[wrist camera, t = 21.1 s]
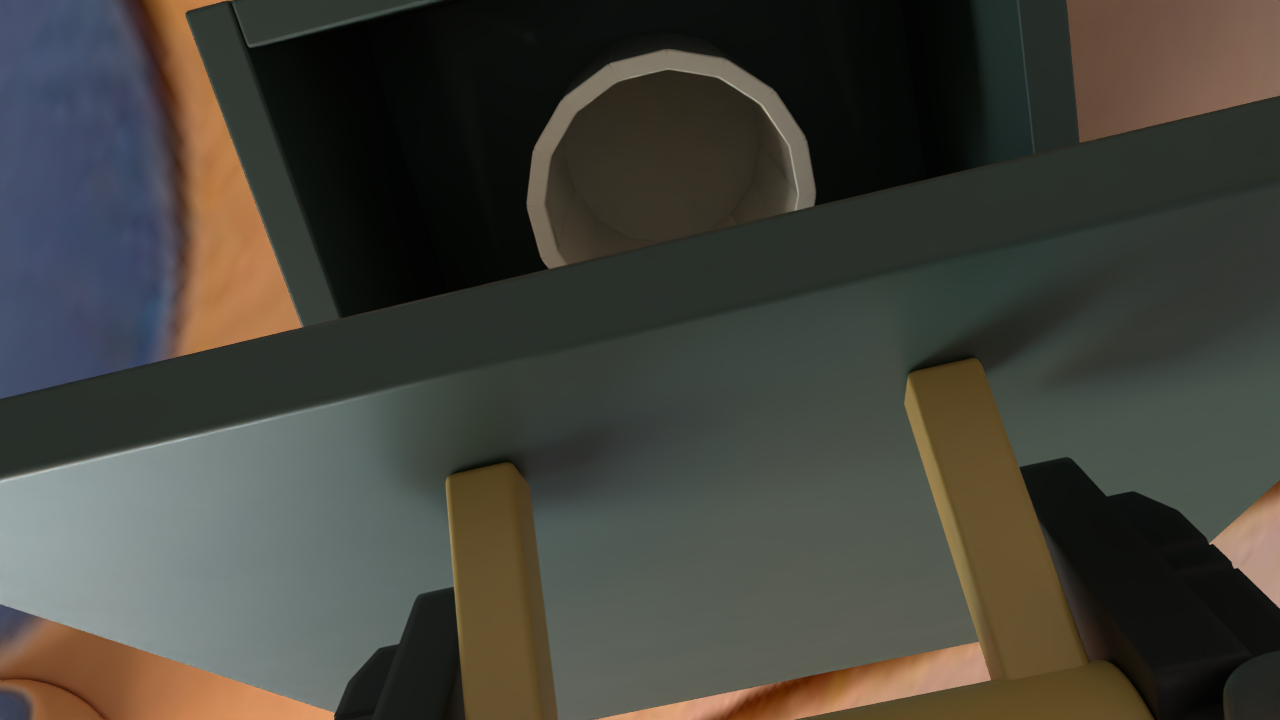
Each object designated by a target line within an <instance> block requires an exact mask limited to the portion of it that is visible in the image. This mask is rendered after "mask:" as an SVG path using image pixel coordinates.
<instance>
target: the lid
mask: <svg viewBox="0 0 1280 720" xmlns="http://www.w3.org/2000/svg"><path fill="white" fill-rule="evenodd" d="M1063 457H1069V458H1071V459H1072V460H1073V461H1075V463H1076V464H1077V465H1078V466H1079V467H1080V468H1081V469H1082V470H1083V471H1084V472H1085V473H1086V474H1087V476H1088V477H1089V478H1090V479H1091V480H1092V481H1093V482H1094V483H1095V484H1096V485H1097V486H1098V488H1099V489H1100V490H1101V491H1102V492H1103V493H1104V494H1105V495H1106V496H1111V495H1116V494H1121V493H1125V492H1130V491H1135V492H1137V493H1139V494H1142V495H1144V496H1146V497H1149V498H1151V499H1153V500H1156V501H1158V502H1160V503H1162V504H1165V505H1167V506H1169V507H1172V508H1174V509H1176V510H1178V511H1179V512H1180V513H1181V514H1183V515H1184V516H1185V517H1186V518H1187V519H1188V520H1189V521H1190V522H1191V523H1192V524H1193V525H1194V526H1195V527H1196V528H1197V529H1198V530H1199V531H1200V532H1201V533H1202V534H1203V535H1204V536H1205V537H1206V538H1207V540H1208V543H1210V542H1211V541H1212V540H1213V539H1214V538H1215V537H1216V536H1218V535H1219V534H1220V533H1221V532H1222V531H1223V530H1224V529H1225V528H1227V527H1228V526H1229V525H1230V524H1231V523H1232V522H1233V521H1234V520H1235V519H1237V518H1238V517H1239V516H1240V515H1241V514H1242V513H1243V512H1244V511H1245V510H1247V509H1248V508H1249V507H1250V506H1251V505H1252V504H1253V503H1254V502H1255V501H1257V500H1258V499H1259V498H1260V497H1261V496H1262V495H1263V494H1264V493H1265V492H1267V491H1268V490H1269V489H1270V488H1271V487H1272V486H1273V485H1274V484H1275V483H1277V482H1278V481H1279V480H1280V96H1277V97H1272V98H1268V99H1264V100H1260V101H1255V102H1251V103H1247V104H1243V105H1239V106H1234V107H1230V108H1226V109H1222V110H1218V111H1213V112H1209V113H1205V114H1201V115H1196V116H1192V117H1188V118H1184V119H1180V120H1175V121H1171V122H1167V123H1163V124H1158V125H1154V126H1150V127H1146V128H1142V129H1137V130H1133V131H1129V132H1125V133H1121V134H1116V135H1112V136H1108V137H1104V138H1099V139H1095V140H1091V141H1087V142H1083V143H1078V144H1074V145H1070V146H1066V147H1061V148H1057V149H1053V150H1049V151H1045V152H1040V153H1036V154H1032V155H1028V156H1024V157H1019V158H1015V159H1011V160H1007V161H1002V162H998V163H994V164H990V165H986V166H981V167H977V168H973V169H969V170H964V171H960V172H956V173H952V174H948V175H943V176H939V177H935V178H931V179H927V180H922V181H918V182H914V183H910V184H905V185H901V186H897V187H893V188H889V189H884V190H880V191H876V192H872V193H867V194H863V195H859V196H855V197H851V198H846V199H842V200H838V201H834V202H830V203H825V204H821V205H817V206H813V207H808V208H804V209H800V210H796V211H792V212H787V213H783V214H779V215H775V216H770V217H766V218H762V219H758V220H754V221H749V222H745V223H741V224H737V225H733V226H728V227H724V228H720V229H716V230H711V231H707V232H703V233H699V234H695V235H690V236H686V237H682V238H678V239H674V240H669V241H665V242H661V243H657V244H652V245H648V246H644V247H640V248H636V249H631V250H627V251H623V252H619V253H614V254H610V255H606V256H602V257H598V258H593V259H589V260H585V261H581V262H577V263H572V264H568V265H564V266H560V267H555V268H551V269H547V270H543V271H539V272H534V273H530V274H526V275H522V276H517V277H513V278H509V279H505V280H501V281H496V282H492V283H488V284H484V285H480V286H475V287H471V288H467V289H463V290H458V291H454V292H450V293H446V294H442V295H437V296H433V297H429V298H425V299H420V300H416V301H412V302H408V303H404V304H399V305H395V306H391V307H387V308H383V309H378V310H374V311H370V312H366V313H361V314H357V315H353V316H349V317H345V318H340V319H336V320H332V321H328V322H323V323H319V324H315V325H311V326H307V327H302V328H298V329H294V330H290V331H286V332H281V333H277V334H273V335H269V336H264V337H260V338H256V339H252V340H248V341H243V342H239V343H235V344H231V345H226V346H222V347H218V348H214V349H210V350H205V351H201V352H197V353H193V354H189V355H184V356H180V357H176V358H172V359H167V360H163V361H159V362H155V363H151V364H146V365H142V366H138V367H134V368H130V369H125V370H121V371H117V372H113V373H108V374H104V375H100V376H96V377H92V378H87V379H83V380H79V381H75V382H70V383H66V384H62V385H58V386H54V387H49V388H45V389H41V390H37V391H33V392H28V393H24V394H20V395H16V396H11V397H7V398H3V399H0V604H2V605H5V606H8V607H11V608H14V609H17V610H20V611H23V612H26V613H29V614H32V615H35V616H38V617H42V618H45V619H48V620H51V621H54V622H57V623H60V624H63V625H66V626H69V627H72V628H75V629H79V630H82V631H85V632H88V633H91V634H94V635H97V636H100V637H103V638H106V639H109V640H112V641H115V642H119V643H122V644H125V645H128V646H131V647H134V648H137V649H140V650H143V651H146V652H149V653H152V654H155V655H159V656H162V657H165V658H168V659H171V660H174V661H177V662H180V663H183V664H186V665H189V666H192V667H196V668H199V669H202V670H205V671H208V672H211V673H214V674H217V675H220V676H223V677H226V678H229V679H232V680H236V681H239V682H242V683H245V684H248V685H251V686H254V687H257V688H260V689H263V690H266V691H269V692H272V693H276V694H279V695H282V696H285V697H288V698H291V699H294V700H297V701H300V702H303V703H306V704H309V705H312V706H316V707H319V708H322V709H325V710H328V711H331V712H334V713H336V710H337V708H338V705H339V703H340V701H341V698H342V696H343V693H344V691H345V689H346V686H347V684H348V682H349V680H350V679H351V678H352V677H353V676H354V675H355V674H356V673H357V672H358V671H359V669H360V668H361V667H362V666H363V665H364V664H365V663H366V662H367V661H368V659H369V658H370V657H371V656H372V655H373V654H374V653H375V652H376V651H377V650H378V648H382V647H386V646H391V645H396V644H399V643H400V640H401V637H402V634H403V632H404V629H405V626H406V623H407V621H408V618H409V615H410V612H411V610H412V607H413V604H414V601H415V599H416V597H417V596H418V595H419V594H421V593H426V592H431V591H435V590H440V589H445V588H449V587H454V592H455V604H456V616H457V628H458V640H459V652H460V664H461V676H462V688H463V700H464V712H465V720H594V719H599V718H604V717H609V716H614V715H619V714H624V713H629V712H634V711H639V710H643V709H648V708H653V707H658V706H663V705H668V704H673V703H678V702H683V701H688V700H693V699H698V698H703V697H708V696H712V695H717V694H722V693H727V692H732V691H737V690H742V689H747V688H752V687H757V686H762V685H767V684H772V683H777V682H781V681H786V680H791V679H796V678H801V677H806V676H811V675H816V674H821V673H826V672H831V671H836V670H841V669H846V668H850V667H855V666H860V665H865V664H870V663H875V662H880V661H885V660H890V659H895V658H900V657H905V656H910V655H915V654H919V653H924V652H929V651H934V650H939V649H944V648H949V647H954V646H959V645H964V644H969V643H974V642H979V643H980V646H981V649H982V652H983V655H984V658H985V662H986V665H987V668H988V671H989V674H990V677H991V681H986V682H981V683H976V684H971V685H966V686H961V687H956V688H951V689H946V690H941V691H936V692H931V693H926V694H921V695H916V696H911V697H906V698H901V699H896V700H891V701H886V702H881V703H876V704H871V705H866V706H861V707H856V708H851V709H846V710H841V711H836V712H831V713H826V714H821V715H816V716H811V717H806V718H801V719H796V720H1155V719H1154V717H1153V716H1152V714H1151V712H1150V710H1149V709H1148V707H1147V705H1146V704H1145V702H1144V700H1143V699H1142V697H1141V696H1140V694H1139V693H1138V691H1137V690H1136V689H1135V687H1134V686H1133V684H1132V683H1131V682H1130V680H1129V679H1128V678H1127V677H1126V675H1125V674H1124V673H1123V672H1122V671H1121V670H1120V669H1119V668H1118V667H1116V666H1115V665H1114V664H1112V663H1110V662H1108V661H1105V660H1097V659H1096V660H1091V661H1089V659H1088V656H1087V654H1086V651H1085V648H1084V645H1083V643H1082V640H1081V637H1080V634H1079V631H1078V629H1077V626H1076V623H1075V620H1074V618H1073V615H1072V612H1071V609H1070V607H1069V604H1068V601H1067V598H1066V595H1065V593H1064V590H1063V587H1062V584H1061V582H1060V579H1059V576H1058V573H1057V571H1056V568H1055V565H1054V562H1053V560H1052V557H1051V554H1050V551H1049V548H1048V546H1047V543H1046V540H1045V537H1044V535H1043V532H1042V529H1041V526H1040V524H1039V521H1038V518H1037V515H1036V513H1035V510H1034V507H1033V504H1032V501H1031V499H1030V496H1029V493H1028V490H1027V488H1026V485H1025V482H1024V479H1023V477H1022V474H1021V471H1020V468H1019V467H1021V466H1026V465H1030V464H1035V463H1040V462H1044V461H1049V460H1054V459H1058V458H1063Z"/></svg>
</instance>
